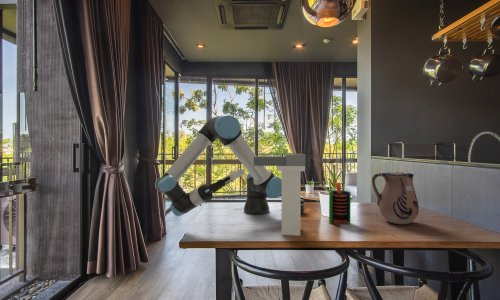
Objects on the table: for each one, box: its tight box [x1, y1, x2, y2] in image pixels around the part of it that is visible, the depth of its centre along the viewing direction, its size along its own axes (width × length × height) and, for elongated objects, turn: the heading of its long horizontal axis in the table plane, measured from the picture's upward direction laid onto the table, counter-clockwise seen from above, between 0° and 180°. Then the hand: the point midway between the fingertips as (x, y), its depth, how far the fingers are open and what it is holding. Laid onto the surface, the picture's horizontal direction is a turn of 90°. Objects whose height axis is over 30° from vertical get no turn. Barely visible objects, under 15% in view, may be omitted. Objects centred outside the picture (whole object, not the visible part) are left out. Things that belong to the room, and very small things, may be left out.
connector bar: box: [254, 153, 306, 167], centre depth 125 cm, size 6×22×5 cm, turn 86°
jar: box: [301, 198, 305, 215], centre depth 167 cm, size 10×10×8 cm
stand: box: [275, 165, 306, 237], centre depth 129 cm, size 17×12×30 cm
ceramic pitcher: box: [371, 171, 420, 225], centre depth 145 cm, size 18×21×25 cm
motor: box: [328, 182, 352, 226], centre depth 145 cm, size 10×9×20 cm
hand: (240, 172), depth 129 cm, fingers open, 13 cm apart
